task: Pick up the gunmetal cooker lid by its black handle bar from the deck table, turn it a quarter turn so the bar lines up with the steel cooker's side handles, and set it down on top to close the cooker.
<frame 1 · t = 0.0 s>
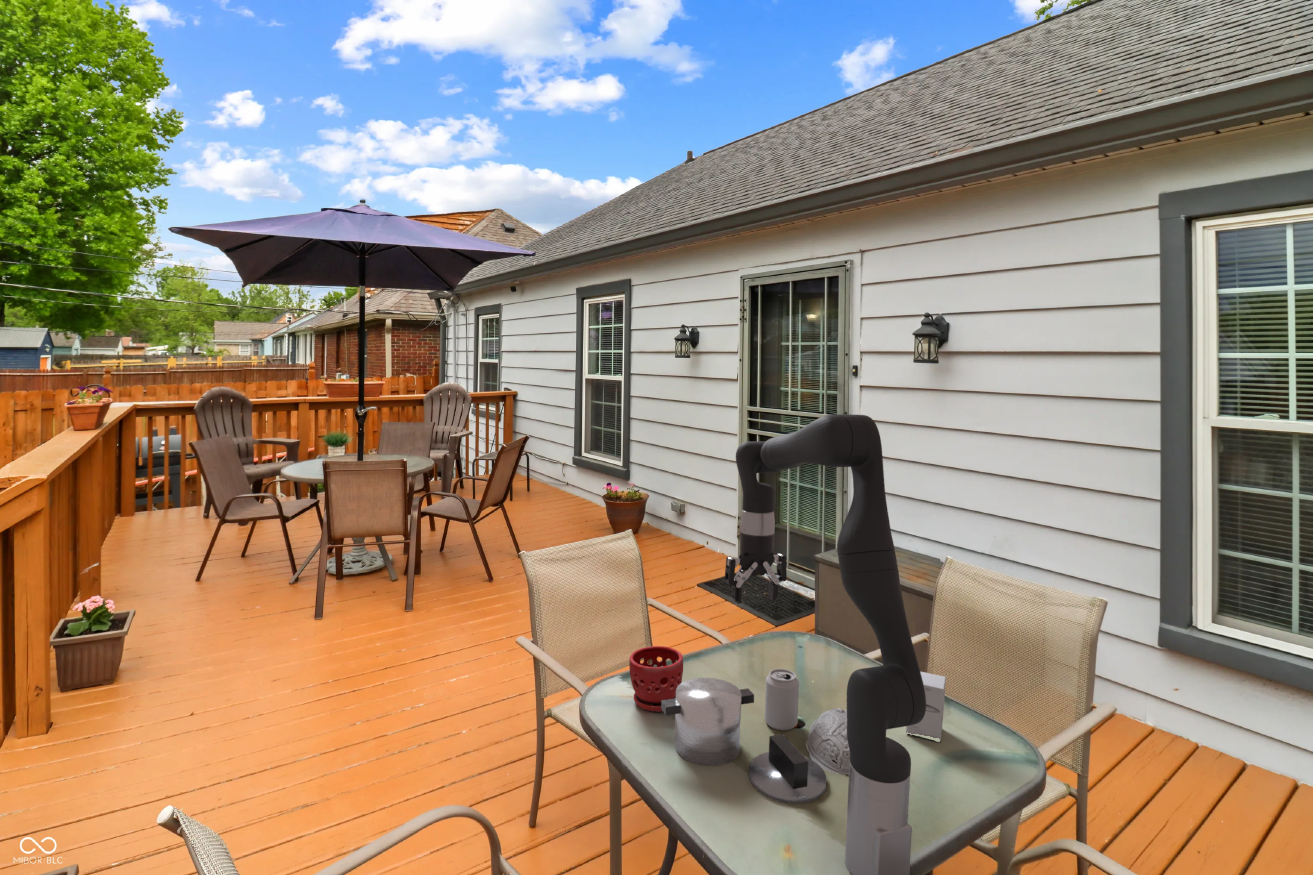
hand: (755, 601, 144), 29 cm above the table, tool pointing down, fingers open, 8 cm apart
plant pot: (655, 703, 156), on the table
can: (780, 724, 148), on the table
supplement box: (924, 732, 145), on the table
lid: (786, 780, 127), on the table
cooker: (707, 746, 138), on the table
grey oval domed piece: (842, 746, 140), on the table
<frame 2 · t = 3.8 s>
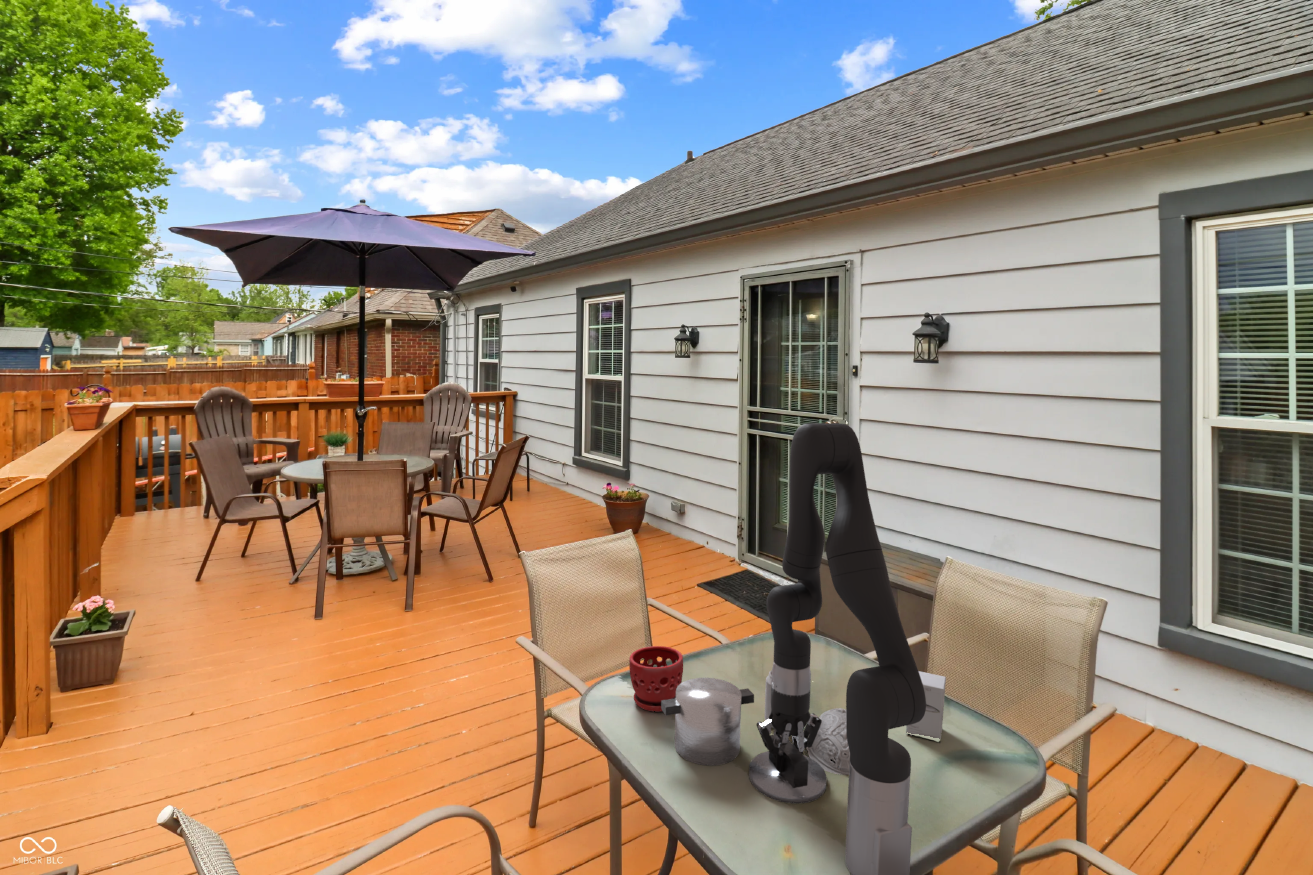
hand: (787, 768, 127), 2 cm above the table, tool pointing down, fingers closed on lid, 3 cm apart
lid: (787, 779, 127), on the table, touching gripper
everything else where it was.
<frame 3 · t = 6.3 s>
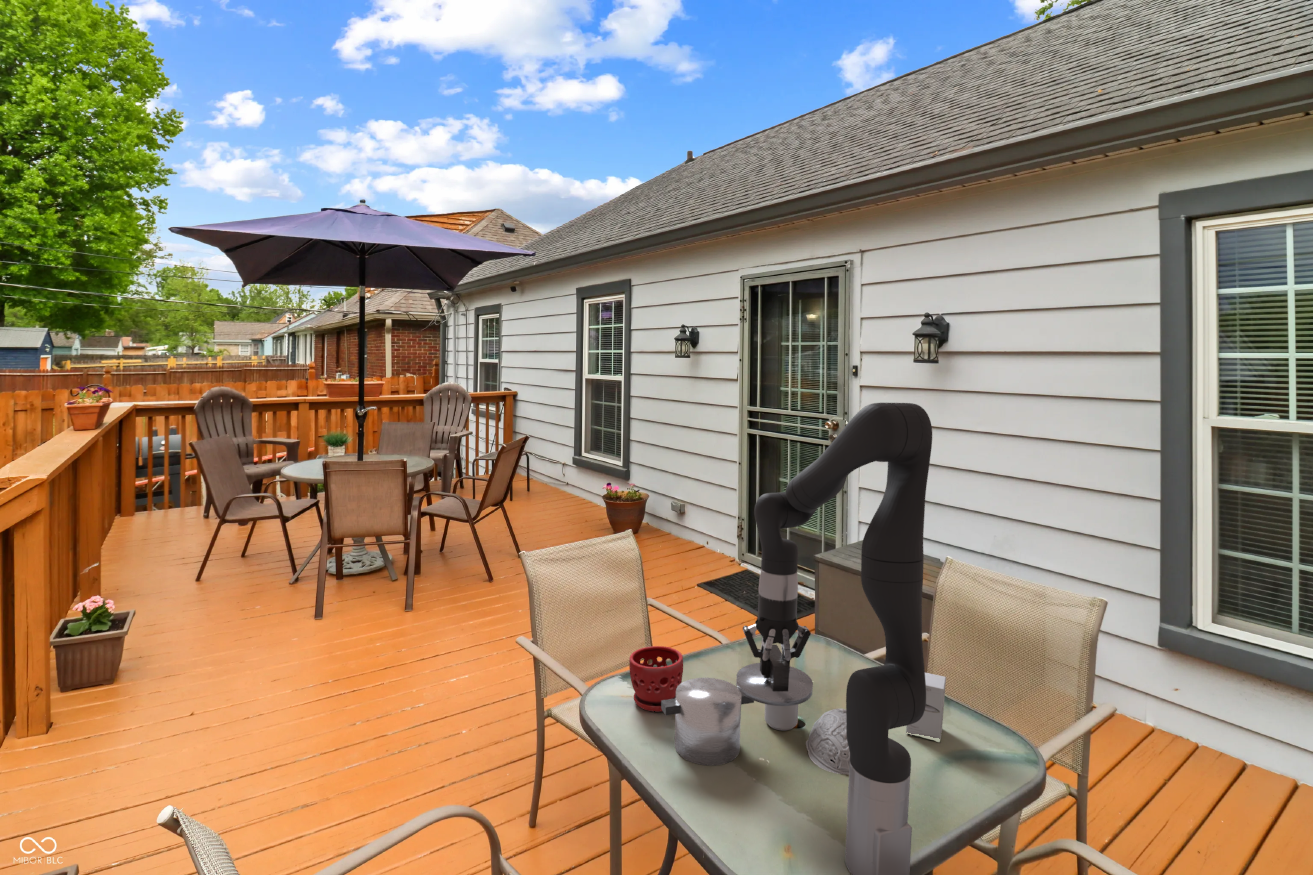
hand: (774, 675, 128), 20 cm above the table, tool pointing down, fingers closed on lid, 3 cm apart
lid: (773, 686, 128), point 18 cm above the table, touching gripper
everything else where it was.
when the fingers open (16 cm above the table, at t = 8.7 s): lid drops 1 cm, resting on cooker.
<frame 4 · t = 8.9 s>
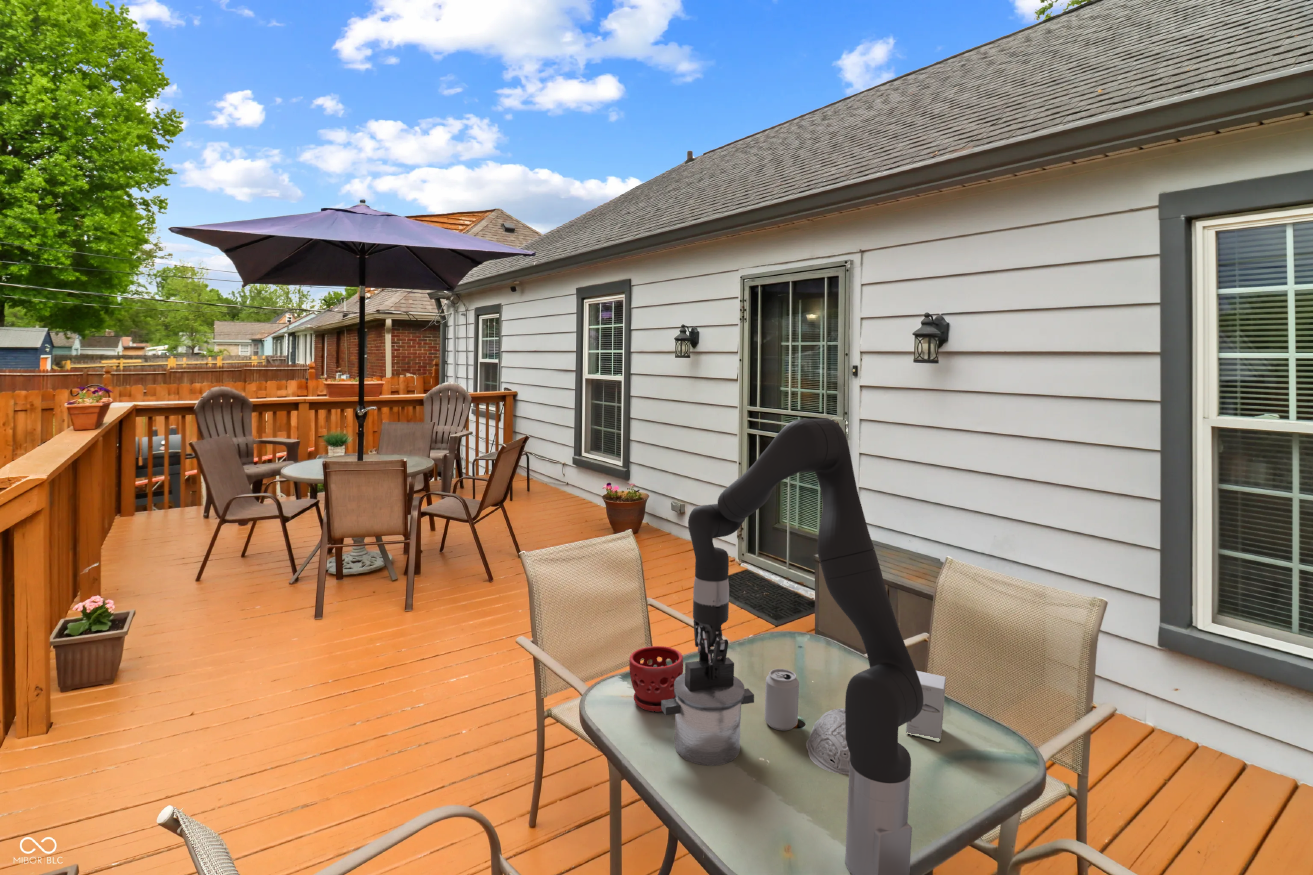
hand: (708, 675, 136), 16 cm above the table, tool pointing down, fingers open, 4 cm apart
lid: (708, 692, 137), point 12 cm above the table, touching cooker
everything else where it was.
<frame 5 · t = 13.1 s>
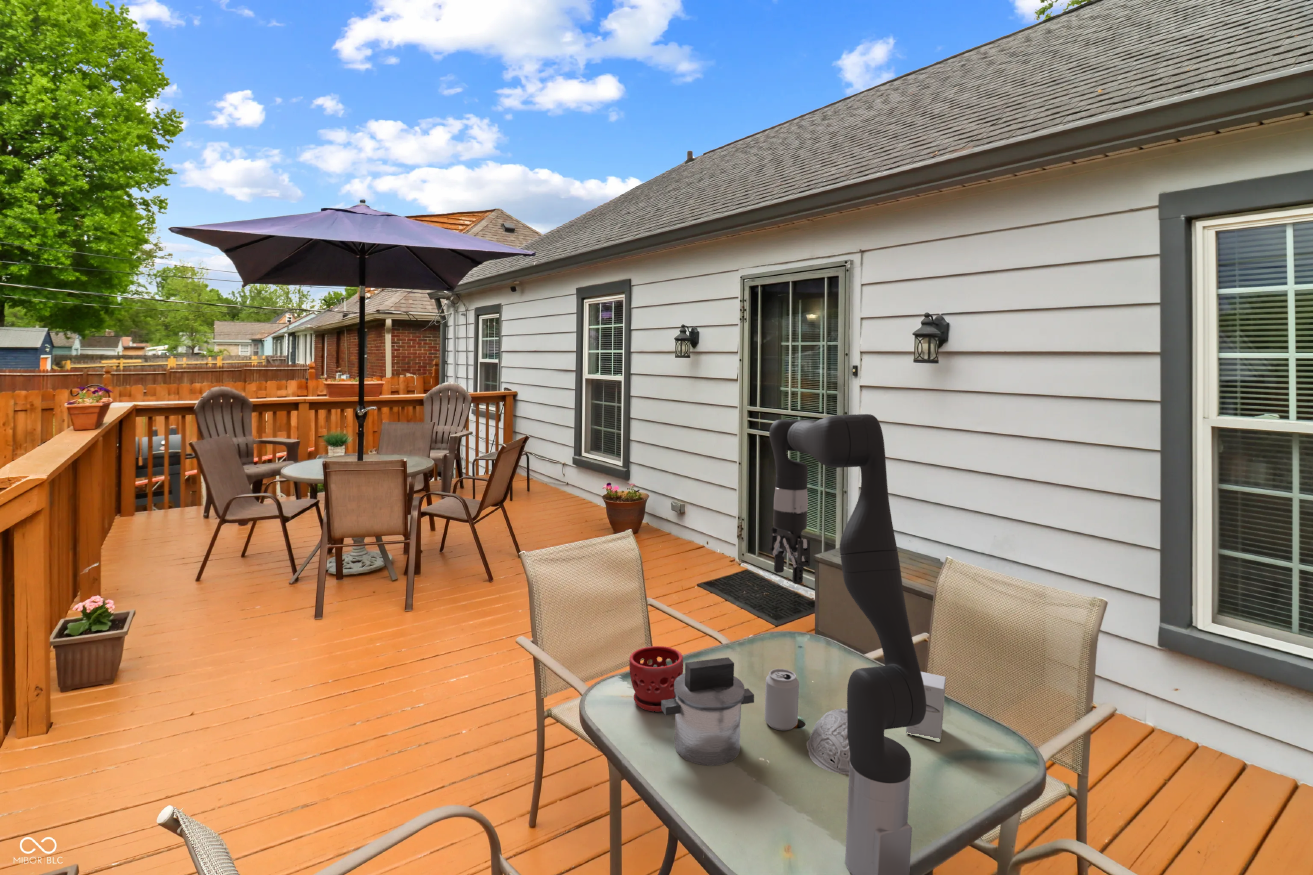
hand: (787, 577, 146), 34 cm above the table, tool pointing down, fingers open, 8 cm apart
nothing on the table moved.
at the end: lid 0.1 cm from the cooker (horizontally); lid point 12.0 cm above the table; lid tilted 0° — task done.
